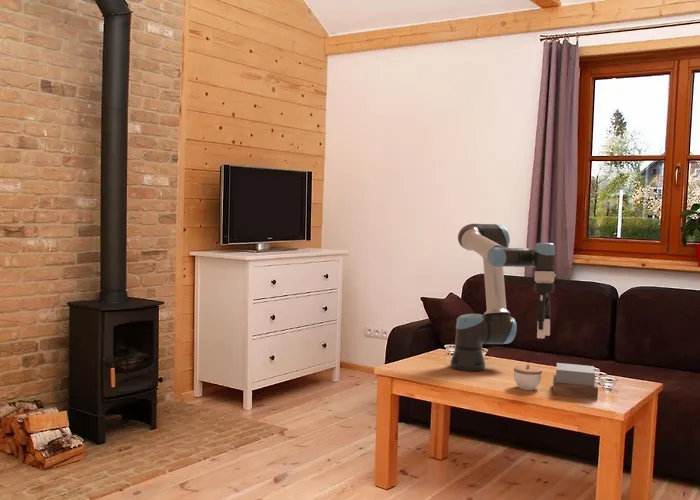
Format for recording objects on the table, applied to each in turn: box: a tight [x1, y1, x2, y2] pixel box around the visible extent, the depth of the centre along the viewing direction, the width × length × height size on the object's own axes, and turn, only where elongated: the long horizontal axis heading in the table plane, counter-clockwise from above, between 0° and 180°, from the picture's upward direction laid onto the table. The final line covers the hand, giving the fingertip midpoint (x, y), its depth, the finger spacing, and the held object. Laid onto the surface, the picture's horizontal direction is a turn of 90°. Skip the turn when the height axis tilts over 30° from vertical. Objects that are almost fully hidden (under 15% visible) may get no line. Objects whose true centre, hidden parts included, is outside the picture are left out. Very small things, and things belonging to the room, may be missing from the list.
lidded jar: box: [513, 363, 543, 391], centre depth 290 cm, size 11×11×9 cm
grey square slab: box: [555, 362, 596, 386], centre depth 287 cm, size 14×14×5 cm
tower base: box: [552, 374, 599, 400], centre depth 287 cm, size 16×16×5 cm
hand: (543, 336), depth 288 cm, fingers open, 13 cm apart
